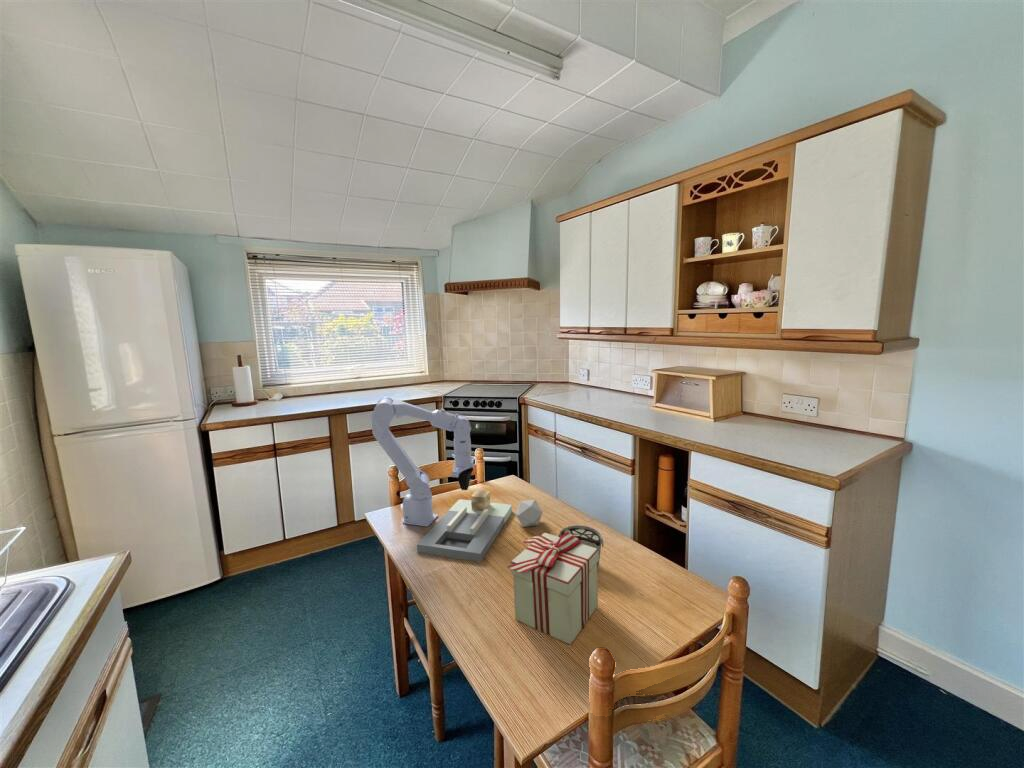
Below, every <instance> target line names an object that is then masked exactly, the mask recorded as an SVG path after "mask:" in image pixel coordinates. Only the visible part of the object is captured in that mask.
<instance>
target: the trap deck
mask: <svg viewBox="0 0 1024 768" xmlns="http://www.w3.org/2000/svg"><path fill="white" fill-rule="evenodd" d="M512 512H513V505H512V504H508V503H499V502H490V506H489V507H488V509H485V510H484V511H478V510H472V505H471V499H462V498H460V499H458V500H457V501H456V502H455V503H454V504H453V505H452V506H451V508H450V509H448V510H447V512H446V513H445V514H444V515H443V516H442V517H441V518H440V519H439V520H438V521H437V522H436V523H435V524H434V525H433V527H431V528H430V530H429V531H428V532H427V533H426V534H425V535H424V536H423V537H422V538H421V540H419V542H418V543H417V544H416V549H417V550H416V551H417V553H421V554H428V555H435V556H441V557H446V558H447V557H448V558H453V559H461V560H465V561H466V560H467V561H474V562H479V563H481V562H482V561H483V560H484V558H485V555H486V554H487V552H488V551H489V549H490V547H491V546H492V544H493V543H494V541H495V540H496V538H497V536H498V535H499V533H500V532H501V530H502V528H503V527H504V525H505V524H506V522H507V520H508V519H509V517H510V516H511V514H512Z"/></svg>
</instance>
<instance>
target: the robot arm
mask: <svg viewBox="0 0 1024 768" xmlns="http://www.w3.org/2000/svg"><path fill="white" fill-rule="evenodd" d="M371 414H372V415H371V428H372V429H371V430H372V431H371V432H372V435H373V437H374V438H375V440H376V441H377V443H378V444H379V445H380V446H381V448H382V449H383V450H384V452H385V453H386V454H387V456H388V457H389V458H390V460H391V461H392V463H394V465H395V466H396V468H397V470H399V472H400V473H401V474H402V476H403V477H404V480H405V482H406V485H407V486H408V487H409V492H410V493H407V494H406V495H405V496H404V497H403V501H402V512H403V513H402V515H403V521H402V524H406V525H413V526H420V527H429V526H430V525H431V524H432V523H433V522H434V521H435V520H436V519H437V518H438V517H439V514H438V513H434V507H433V506H434V505H433V494H432V493H433V492H432V491H431V487H430V480H431V479H430V478H431V477H430V476H429V474H427V473H426V472H424V471H422V470H421V469H420V467H418V466H417V465H416V464H415V463H414V462H413V460H412V458H410V456H409V454H408V453H407V452H406V451H405V449H404V448H403V446H402V445H401V444H400V443H399V441H398V440H397V438H396V437H395V436H394V434H393V433H392V431H391V430H390V425H391V422H392V420H393V418H394V416H395V419H398V418H399V419H400V418H401V417H404V416H407V417H412V418H415V419H421V420H423V421H427V422H429V423H430V425H431V427H435V428H438V429H441V430H444V431H448V432H453V437H454V438H453V450H454V451H453V454H454V455H453V456H454V465H453V468H452V469H453V470H451V477H452V478H456V480H457V482H458V484H459V487H460V490H461V491H467V490H469V487H470V486H469V485H470V482H471V478H472V477H471V476H472V474H473V472H474V468H475V466H476V464H475V456H472V441H471V431H472V426H471V423H470V420H469V419H468V417H466V416H464V415H463V414H458V413H455V414H454V413H451V412H448V411H446V410H445V409H444V408H440V409H435V410H433V411H431V410H429V409H425V408H422V407H420V406H417V405H414V404H411V403H409V402H407V401H406V402H405V401H402V400H400V399H395V398H394V399H392V398H390V397H382V398H381V399H379V400H378V401H377V403H376V405H375V407H374V408H373V412H372V413H371Z"/></svg>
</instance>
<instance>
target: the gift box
mask: <svg viewBox="0 0 1024 768" xmlns="http://www.w3.org/2000/svg"><path fill="white" fill-rule="evenodd" d="M558 536H559V535H553V534H551V533H546V532H543V533H542V534H541V535H540V534H538V535H535V536H532V537H531V538H529V539H527V540H523V541H522V543H523V544H529V545H528V546H527V547H526V548H525V549H524V550H522V552H520V553H519V554H518V555H517V556H516V557H515V558H514V559H511V561H510V565H507V566H506V568H509V569H510V574H511V575H512V579H513V600H514V601H513V602H514V615H515V616H514V618H515V620H516V621H517V622H519V623H522V624H524V625H527V626H528V627H531V628H533V629H535V630H537V631H539V632H541V633H543V634H546V635H547V636H550V637H552V638H554V639H556V640H559V641H561V642H562V643H565V644H567V645H572V644H573V642H574V641H575V639H576V637H577V636H578V635H579V633H580V632H581V630H583V629H584V627H585V625H586V623H587V622H588V621H589V619H590V618H591V616H592V615H593V614H594V612H595V611H596V609H597V607H599V596H598V595H599V592H598V591H599V590H598V587H599V586H598V574H597V562H598V561H599V562H600V559H599V549H597V548H594V547H591V546H588V545H584V544H581V543H580V542H581V541H580V540H579V539H578V538H576V537H575V536H573V535H572V534H571V533H569V532H566V533H564V534H563V535H562V536H561V537H558Z"/></svg>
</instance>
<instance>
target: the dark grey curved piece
mask: <svg viewBox="0 0 1024 768" xmlns="http://www.w3.org/2000/svg"><path fill="white" fill-rule="evenodd" d="M566 532H569V533H571V534H572V535H573V536H575V537H576V538H578V539H579V540H580V541H581V542H580V543H581V544H584V545H588V546H591V547H594V548H597V549H599V561H598V562H597V575H598V573H599V566H600V556H601V549H602V548H604V546H605V545H604V539H603V537H602V534H601V533H600V532H599V531H598V530H597V529H595V528H594V527H591V526H587V525H578V524H577V525H570V526H566V527H564V528H562V529H561V530H560V531H559V532H558V535H557V536H558V537H561V536H562V535H563V534H564V533H566Z"/></svg>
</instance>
